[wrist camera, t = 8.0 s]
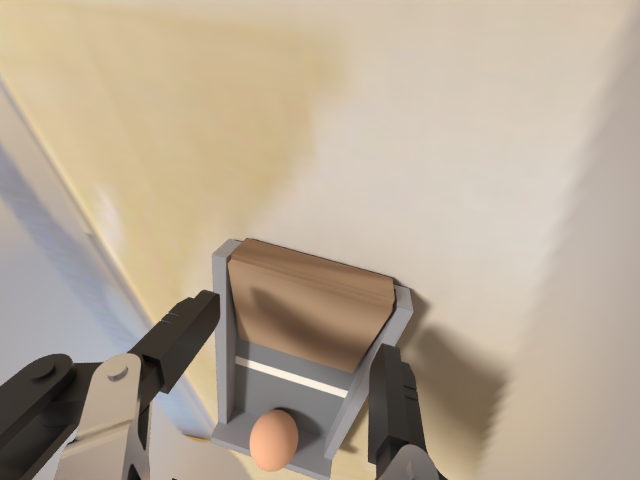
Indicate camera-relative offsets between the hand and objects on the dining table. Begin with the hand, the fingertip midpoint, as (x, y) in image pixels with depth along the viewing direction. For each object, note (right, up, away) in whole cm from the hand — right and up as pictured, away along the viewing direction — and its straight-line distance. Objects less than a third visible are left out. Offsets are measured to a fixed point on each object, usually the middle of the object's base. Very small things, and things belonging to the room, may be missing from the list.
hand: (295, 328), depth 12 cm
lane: (-1, -5, +7) cm, 9 cm away
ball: (-3, -12, +9) cm, 15 cm away
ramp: (0, 0, +4) cm, 4 cm away
